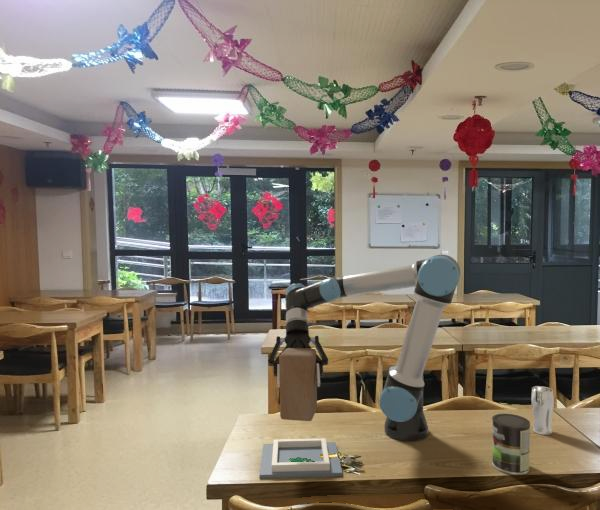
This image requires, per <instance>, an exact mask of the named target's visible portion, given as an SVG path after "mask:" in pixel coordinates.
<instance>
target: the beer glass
mask: <svg viewBox="0 0 600 510" xmlns="http://www.w3.org/2000/svg"><path fill="white" fill-rule="evenodd" d="M530 396H531V398H530V401H531V403H530V404H531V410H532V415H533V425H532V431H533V432H534V433H536V434H538V435H544V436H549V435H552V434H553V429H552V417H553V412H554V407H555V402H554V401H555V400H554V398H555V397H554V390H553V389H552V388H551V387H547V386H543V385H542V386H540V385H535V386H533V387H531V395H530Z"/></svg>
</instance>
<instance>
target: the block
mask: <svg viewBox="0 0 600 510" xmlns="http://www.w3.org/2000/svg"><path fill="white" fill-rule="evenodd" d="M283 350H284V349H283ZM283 350H282V351H283ZM316 354H317V349H316V348H312V349H309V348H286V349H285V350H284V351H283V353H282V354H281V355H280V354H279V355H280V357H279V375H280V388H279V416H280V419H281V420H285V421H286V420H288V421H299V422H301V421H302V422H311V421H312V420H313V418H314V416H315V414H316V412H317V409H318V387H317V370H316V365H317V364H316Z"/></svg>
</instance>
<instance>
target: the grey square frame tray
mask: <svg viewBox="0 0 600 510" xmlns="http://www.w3.org/2000/svg"><path fill="white" fill-rule="evenodd" d="M261 453H262V454H261V459H260V468H259V479H281V478H318V477H319V478H321V477H343V469H342V465H341V460H340V457H339V458H334V459H333V458H331V459H329V456H328V453H330V454H334V453H338V454H339V450H338V446H337V443H336V441H330V442H329V441H328V442H327V440H326V438H325V437H322V438H286V439H285V438H284V439H281V438H280V439H273V443H263V445H262V452H261ZM320 454H323V459H322V458H321V457H320ZM297 457H301V458H307V459H311V460H313V461H315V462H291V461H290V460H289V459H290V458H297Z"/></svg>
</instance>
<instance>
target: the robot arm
mask: <svg viewBox="0 0 600 510" xmlns="http://www.w3.org/2000/svg"><path fill="white" fill-rule="evenodd" d="M460 268H461V267H460V265H459V263H458V262H457V261H456V260H455V259H454V258H453V257H452V256H450V255H447V254H437V255H433V256H431V257H428V258H426V259H420V260H416V261H415V262H414V263H413V264H409V265H403V266H397V267H391V268H386V269H378V270H374V271H368V272H362V273H361V272H360V273H355V274H348V275H344V276H334V277H329V278H325V279H322V280H320V281H318V282H315V283H313V284H310V285H308V286H306V285H304V284H303V283H292V284H290V285H288V287H287V288H286V292H285V300H284V301H285V337H281V336H276V342H275V344H274V345H273V349H272V351H271V352H270V355H269V356H268V357H269V358H268V360H267V364H268V367H273V376H274V377H275V378H276V381H277V382H276V385H277V388H279V389H280V375H279V357H280V355H281V354H282V353H283V351H284V350H285V349H286V348H309V349H313V347H312V346H311V345H310V343H312V344H313V345H314V346H315V350H316V352H317V353H318V354H317V353H316V370H317V388H320V387H321V376H323V375H324V366H327V365H328V364H329V358H328V357H327V354H326V353H325V350H324V349H323V346H322V345H321V342H320V338H319V335H315V336H314V337H313V336H312V337H311V336H310V332H309V331H310V330H309V315H308V314H309V312H308V311H309V309H311V308H315V307H317V306H320V305H324V304H327V303H331V302H333V301H335V300H338V299H341V298H346V297H351V296H360V295H366V294H367V295H368V294H373V293H380V292H387V291H394V290H401V289H402V290H403V289H408V288H414V291H413V293H414V295H415V297H416V300H415V304H414V307H413V311H412V313H411V317H410V321H409V323H408V327H407V330H406V333H405V336H404V340H403V342H402V346H401V349H400V353H399V355H398V359H397V362H396V365H394V366H390V367H389V369H388V374H387V377H386V380H385V384H384V387H383V390H382V391H381V393H380V395H379V401H378V403H379V404H378V405H379V407H380V410H381V411H382V413H383V415H384V416H385V421H384V425H383V427H384V433H385V434H386V435H388V437H390V438H392V439H395V440H399V441H404V442H405V441H407V442H415V441H421V440H424V439H426V438H427V437H428V436H429V425H428V422H427V418H426V416H425V413H424V387H425V382H424V372H425V369H426V366H427V362H428V359H429V356H430V353H431V349H432V346H433V343H434V340H435V337H436V333H437V331H438V327H439V324H440V322H441V318H442V315H443V312H444V309H445V308H446V307H448V306H450V305H451V304H452V301H453V299H454V295H455V293H456V289H457V286H458V285H459V281H460V278H461V269H460ZM283 344H286V345H285V347H284V348H283V349H282V351H281V352H280V353H279V354H278V352H279V351H280V348H281V346H282V345H283ZM277 355H278V356H277Z"/></svg>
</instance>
